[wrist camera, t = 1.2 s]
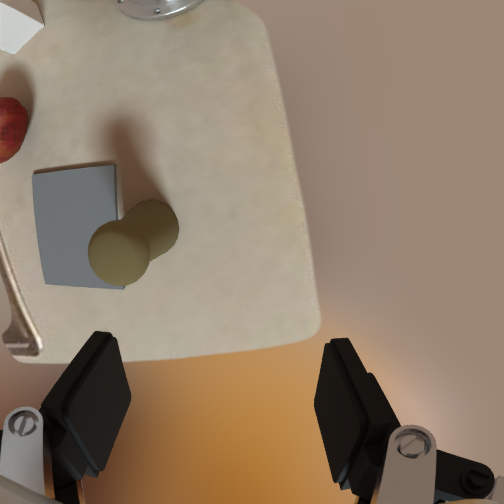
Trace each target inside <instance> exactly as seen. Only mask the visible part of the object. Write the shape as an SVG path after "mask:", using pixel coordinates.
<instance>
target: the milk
mask: <svg viewBox="0 0 504 504" xmlns="http://www.w3.org/2000/svg"><path fill="white" fill-rule="evenodd" d="M42 27H44V23H43V20H42V17H41V14H40V11H39V8H38V5H37V4H36V3H34V2H33V1H31V0H0V50H3V51H6V52H8V53H11V54H16V53H17V52H18V51H19V50H20V49H21V48H22V47H23V45H24V44H26V43H27V42H28V41H29V40H30V39H31V38H32V37H33V36H34V35H35V34H36V33H37V32H38V31H39V30H40V29H41V28H42Z"/></svg>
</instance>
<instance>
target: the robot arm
mask: <svg viewBox="0 0 504 504" xmlns="http://www.w3.org/2000/svg"><path fill="white" fill-rule="evenodd" d="M202 1H203V0H114V3H115V5H116V6H117V7H118V9H119V10H120V11H121V12H122V13H124V14H125V15H126V16H129V17H131V18H134V19H139V20H160V19H165V18H169V17H173V16H176V15H178V14H181V13H183V12H185V11H187V10H189V9H192V8H193V7H195V6H196V5H198V4H199V3H201V2H202ZM158 13H159V14H158ZM130 402H131V392H130V389H129V385H128V382H127V378H126V374H125V371H124V367H123V363H122V359H121V355H120V350H119V346H118V342H117V339H116V338H115V337H113V336H112V334H111V333H110V332H101V331H95V332H94V333H93V334H92V335H91V337H90V338H89V339H88V340H87V342H86V343H85V344H84V346H83V347H82V348H81V350H80V351H79V352H78V354H77V355H76V356H75V358H74V359H73V360H72V362H71V363H70V364H69V366H68V367H67V368H66V370H65V371H64V372H63V374H62V375H61V377H60V378H59V379H58V381H57V382H56V384H55V385H54V386H53V388H52V389H51V391H50V392H49V394H48V395H47V396H46V398H45V399H44V401H43V402H42V404H41V406H42V407H41V408H40V410H39V411H37V410H36V409H34V408H31V407H21V408H18V409H15V410H13V411H12V412H11V413H10V414H9V415H8V416H7V417H6V420H5V423H4V428H3V430H0V504H85V499H84V494H83V488H82V482H81V479H82V478H83V476H84V474H86V475H89V476H92V477H96V478H97V477H98V474H99V471H103V470H104V469H105V466H106V464H107V461H108V458H109V456H110V453H111V450H112V448H113V445H114V442H115V440H116V437H117V435H118V432H119V429H120V427H121V425H122V422H123V420H124V417H125V415H126V412H127V409H128V407H129V405H130ZM314 408H315V412H316V416H317V420H318V424H319V428H320V431H321V435H322V439H323V443H324V447H325V451H326V455H327V459H328V463H329V467H330V471H331V474H332V478H333V481H334V483H339V485H340V489H341V490H345V489H351V491H352V493H353V494H355V495H357V497H356V499H355V503H354V504H504V477H502V476H498V477H497V478H494V474H493V473H492V471H491V469H490V468H488V467H487V466H486V465H484V464H482V463H478V462H475V461H472V460H468V459H465V458H462V457H458V456H456V455H453V454H449V453H446V452H443V451H441V450H437V449H436V440H435V438H434V436H433V435H432V433H430V432H429V431H428V430H427V429H425V428H423V427H421V426H417V425H405V426H401V425H400V423H399V421H398V419H397V417H396V415H395V413H394V411H393V409H392V408H391V406H390V404H389V402H388V400H387V398H386V396H385V395H384V393H383V391H382V389H381V387H380V385H379V384H378V382H377V380H376V378H375V376H374V375H373V374H372V373H367V371H366V369H365V368H364V366H363V364H362V362H361V360H360V358H359V356H358V354H357V353H356V351H355V349H354V347H353V345H352V343H351V342H350V340H349V339H348V338H335V339H331V341H330V343H326V344H325V346H324V353H323V357H322V364H321V368H320V374H319V379H318V384H317V389H316V394H315V398H314Z"/></svg>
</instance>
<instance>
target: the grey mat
mask: <svg viewBox="0 0 504 504" xmlns="http://www.w3.org/2000/svg"><path fill="white" fill-rule="evenodd" d="M32 184H33V201H34V213H35V223H36V231H37V239H38V246H39V253H40V259H41V265H42V270H43V275H44V280H45V284H51V285H63V286H76V287H90V288H106V289H124V288H125V286H114V285H111V284H108V283H106V282H104V281H103V280H101V279H100V278H99V277H98V276H97V275H96V274H95V273H94V271H93V269H92V267H91V266H90V263H89V258H88V244H89V242H90V239H91V237H92V235H93V234H94V232H95V231H96V230H97V229H98V228H99V227H100V226H101V225H103V224H105V223H107V222H109V221H114V220H118V212H117V191H116V165H108V166H97V167H87V168H79V169H70V170H62V171H55V172H48V173H41V174H35V175H32Z"/></svg>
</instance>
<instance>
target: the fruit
mask: <svg viewBox="0 0 504 504" xmlns="http://www.w3.org/2000/svg"><path fill="white" fill-rule="evenodd" d="M27 124H28V117H27V112H26V110H25V108H24V107H23V106H22V105H21V104H20V102H19V101H18V100H16V99H14V98H9V97H3V98H0V163H3V162H5V161H7V160H9V159H10V158H11V157H13V156H14V155H15V154H16V153H17V152H18V151H19V150H20V147H21V145H22V143H23V141H24V138H25V135H26V131H27Z"/></svg>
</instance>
